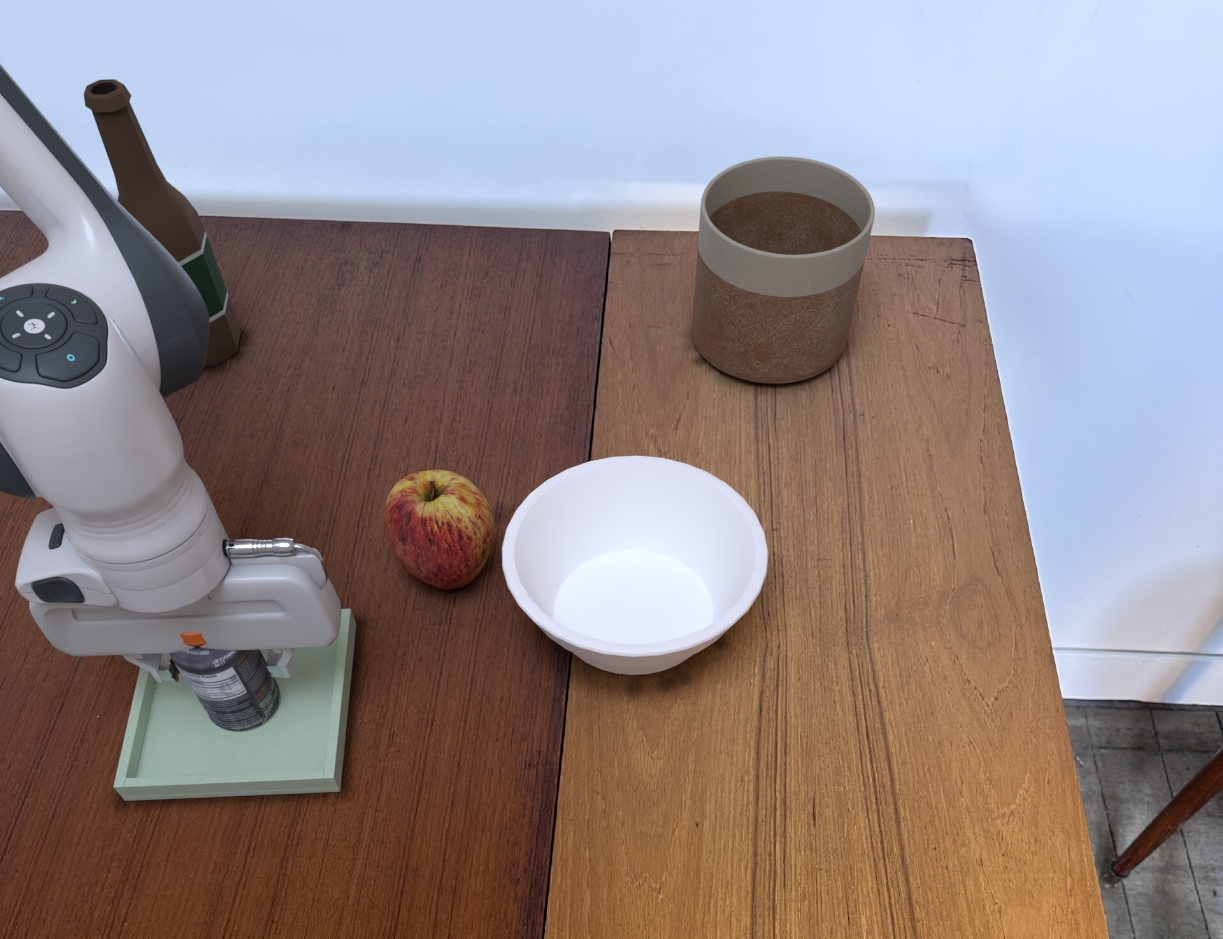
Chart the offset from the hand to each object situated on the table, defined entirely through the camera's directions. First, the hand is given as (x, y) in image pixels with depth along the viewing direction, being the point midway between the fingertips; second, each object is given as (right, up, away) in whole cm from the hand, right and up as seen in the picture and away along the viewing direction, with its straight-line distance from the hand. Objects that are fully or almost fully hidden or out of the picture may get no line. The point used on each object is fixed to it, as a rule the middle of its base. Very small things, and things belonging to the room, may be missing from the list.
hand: (227, 673), depth 78 cm
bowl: (+32, +6, +9) cm, 33 cm away
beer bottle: (-12, +37, +26) cm, 47 cm away
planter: (+46, +38, +26) cm, 65 cm away
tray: (0, -2, +4) cm, 5 cm away
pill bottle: (0, -2, +4) cm, 4 cm away
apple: (+15, +11, +11) cm, 22 cm away
